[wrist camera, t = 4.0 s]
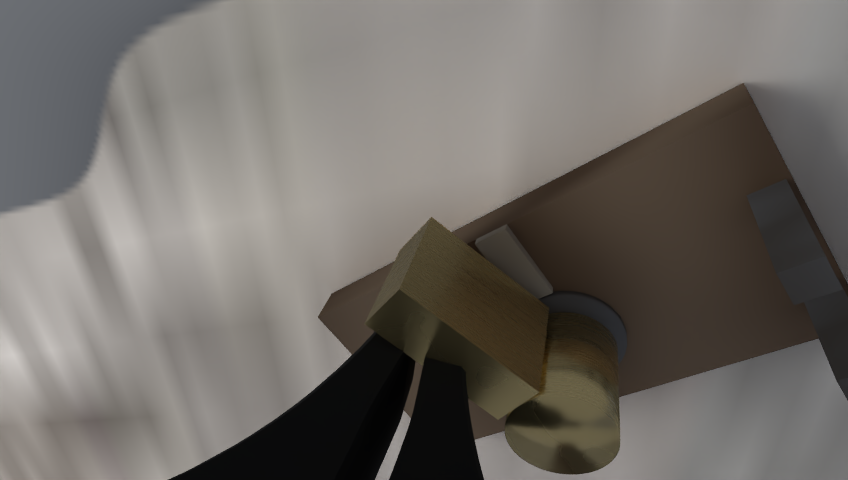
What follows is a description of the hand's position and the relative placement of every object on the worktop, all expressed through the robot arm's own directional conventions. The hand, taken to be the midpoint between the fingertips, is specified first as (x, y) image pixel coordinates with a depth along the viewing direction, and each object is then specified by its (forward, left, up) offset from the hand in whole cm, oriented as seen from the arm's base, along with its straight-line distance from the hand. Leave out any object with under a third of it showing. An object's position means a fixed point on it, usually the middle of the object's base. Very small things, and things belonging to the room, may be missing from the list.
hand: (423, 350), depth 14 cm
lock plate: (-2, +2, -3) cm, 4 cm away
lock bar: (-2, +1, -1) cm, 2 cm away
